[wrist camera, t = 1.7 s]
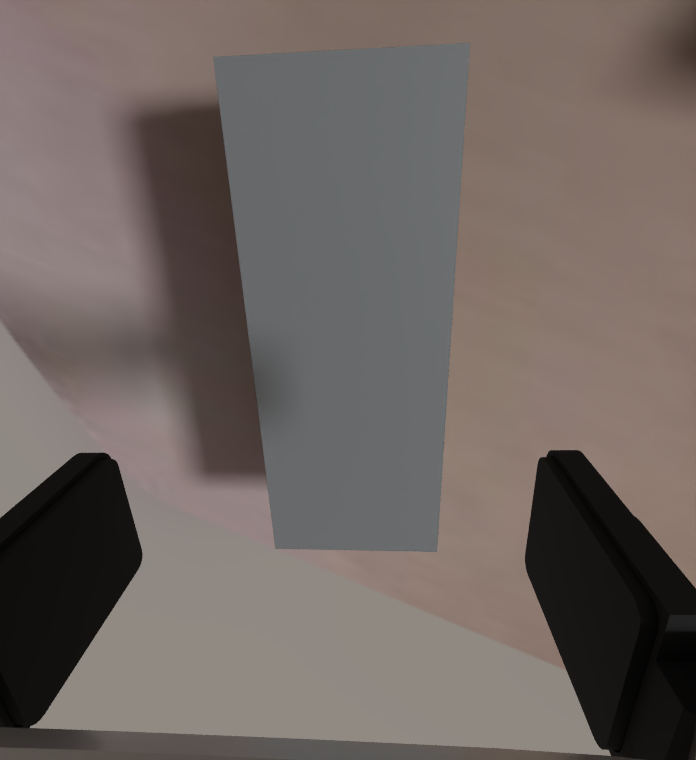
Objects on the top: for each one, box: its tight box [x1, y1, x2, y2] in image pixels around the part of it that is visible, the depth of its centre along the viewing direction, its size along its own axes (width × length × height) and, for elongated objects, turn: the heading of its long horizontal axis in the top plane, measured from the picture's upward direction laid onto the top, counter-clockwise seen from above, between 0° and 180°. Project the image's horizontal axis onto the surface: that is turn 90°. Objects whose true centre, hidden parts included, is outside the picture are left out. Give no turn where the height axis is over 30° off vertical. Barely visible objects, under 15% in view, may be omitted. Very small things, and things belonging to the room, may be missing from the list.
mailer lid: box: [213, 43, 470, 552], centre depth 18 cm, size 19×8×3 cm, turn 2°
